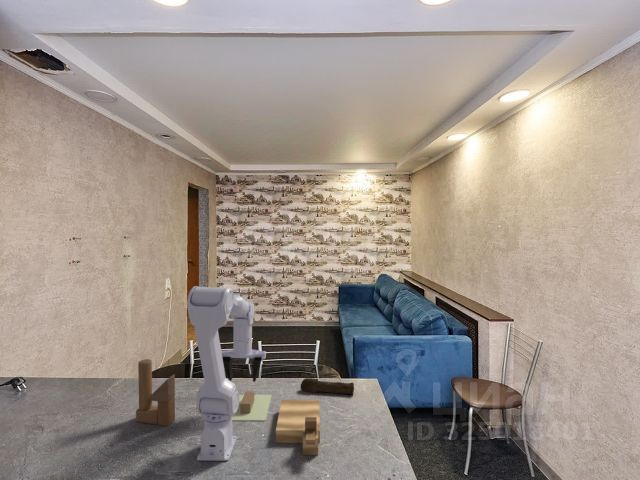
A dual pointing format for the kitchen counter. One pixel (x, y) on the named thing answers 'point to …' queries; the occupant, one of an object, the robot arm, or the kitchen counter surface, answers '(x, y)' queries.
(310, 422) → the l-shaped wooden piece
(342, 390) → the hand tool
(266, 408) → the lid
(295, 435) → the wooden slab
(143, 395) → the wooden block
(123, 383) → the kitchen counter surface
